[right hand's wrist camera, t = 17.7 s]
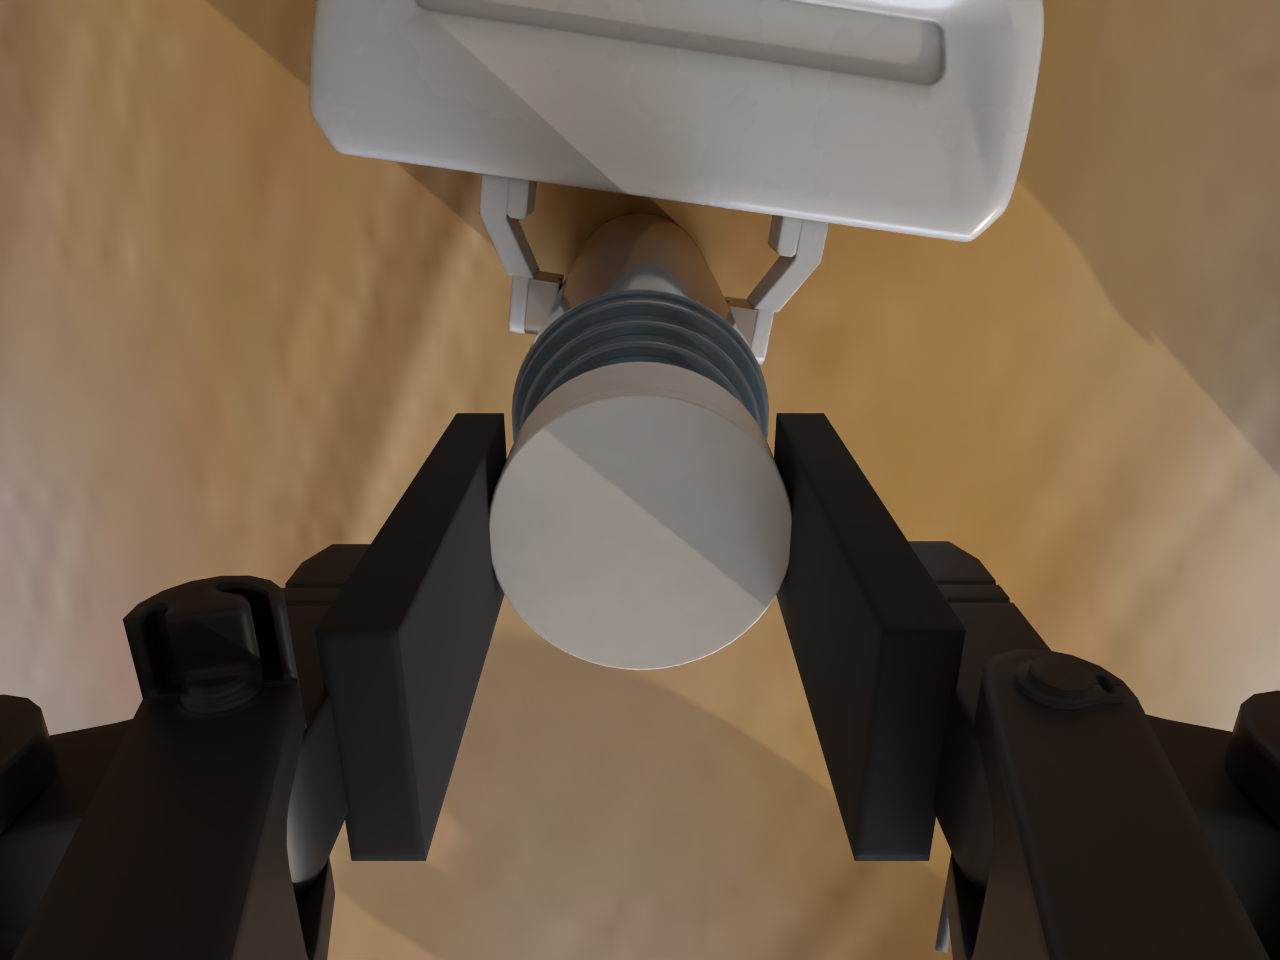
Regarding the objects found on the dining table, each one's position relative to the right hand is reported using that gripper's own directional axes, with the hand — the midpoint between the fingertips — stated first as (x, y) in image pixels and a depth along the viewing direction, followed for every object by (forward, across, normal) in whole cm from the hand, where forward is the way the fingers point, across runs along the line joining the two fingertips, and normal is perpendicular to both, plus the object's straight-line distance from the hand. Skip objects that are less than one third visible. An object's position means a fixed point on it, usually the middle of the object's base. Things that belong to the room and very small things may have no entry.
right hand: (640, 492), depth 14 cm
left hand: (+15, 0, -1) cm, 15 cm away
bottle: (+21, 0, 0) cm, 21 cm away
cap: (-2, 0, 0) cm, 2 cm away
